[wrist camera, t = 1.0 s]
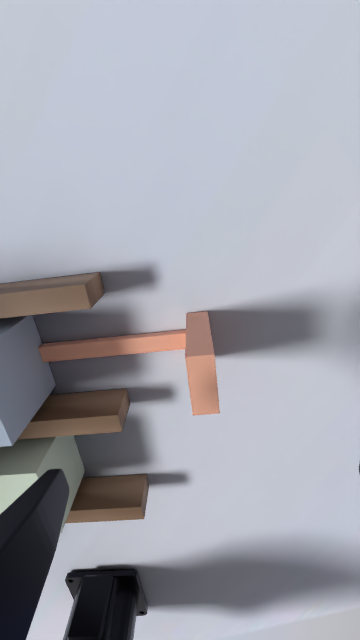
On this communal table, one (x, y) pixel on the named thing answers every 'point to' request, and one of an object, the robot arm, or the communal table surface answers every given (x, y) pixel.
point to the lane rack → (79, 401)
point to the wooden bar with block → (36, 377)
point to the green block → (38, 466)
